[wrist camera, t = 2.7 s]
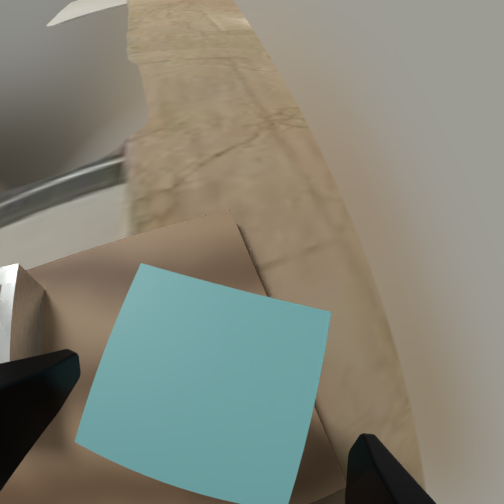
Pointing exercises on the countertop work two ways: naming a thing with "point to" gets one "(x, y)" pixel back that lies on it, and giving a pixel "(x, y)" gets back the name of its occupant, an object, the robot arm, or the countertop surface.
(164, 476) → the block
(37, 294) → the collar
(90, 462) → the board
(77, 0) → the countertop surface
